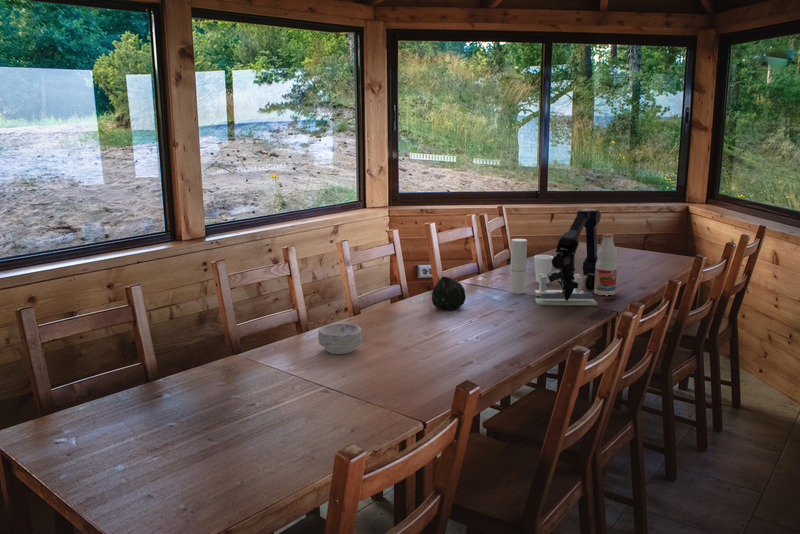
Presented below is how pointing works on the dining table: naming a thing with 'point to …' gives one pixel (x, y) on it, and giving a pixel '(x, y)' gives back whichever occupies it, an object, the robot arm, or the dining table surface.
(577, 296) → the metal rail
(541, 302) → the pale sage plank
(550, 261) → the foam cup
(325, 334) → the paper bowls
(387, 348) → the dining table surface
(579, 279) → the stand
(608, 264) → the fruit juice
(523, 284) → the cylindrical container
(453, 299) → the squash
